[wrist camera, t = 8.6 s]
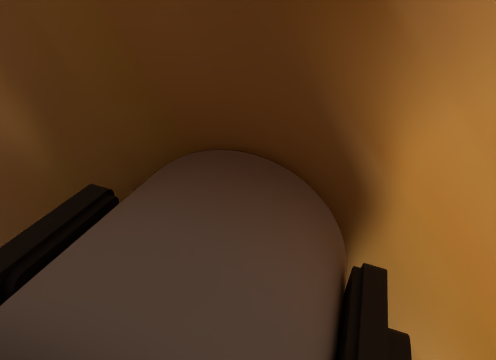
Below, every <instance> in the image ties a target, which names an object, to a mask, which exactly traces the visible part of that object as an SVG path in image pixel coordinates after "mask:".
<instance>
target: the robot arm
mask: <svg viewBox="0 0 496 360" xmlns="http://www.w3.org/2000/svg"><path fill="white" fill-rule="evenodd" d="M118 204H119V199H118V198H117V197H115V196H114V192H113V191H112V190H111V189H107V188H104V187H101V186H97V185H94V184H90V185H88V186H87V187H85V188H84V189H82V190H81V191H80V192H78V193H77V194H75V195H74V196H73V197H71V198H70V199H68V200H67V201H66V202H64V203H63V204H61V205H60V206H58V207H57V208H56V209H54V210H53V211H51V212H50V213H49V214H47V215H46V216H44V217H43V218H42V219H40V220H39V221H37V222H36V223H34V224H33V225H32V226H30V227H29V228H27V229H26V230H25V231H23V232H22V233H20V234H19V235H18V236H16V237H15V238H13V239H12V240H10V241H9V242H8V243H6V244H5V245H3V246H2V247H1V248H0V306H1V305H2V304H3V303H4V302H5V301H7V300H8V299H9V298H10V297H11V296H12V295H14V294H15V293H16V292H17V291H18V290H19V289H21V288H22V287H23V286H24V285H25V284H26V283H27V282H29V281H30V280H31V279H32V278H33V277H34V276H36V275H37V274H38V273H39V272H40V271H41V270H43V269H44V268H45V267H46V266H47V265H48V264H50V263H51V262H52V261H53V260H54V259H55V258H57V257H58V256H59V255H60V254H61V253H62V252H64V251H65V250H66V249H67V248H68V247H69V246H71V245H72V244H73V243H74V242H75V241H76V240H78V239H79V238H80V237H81V236H82V235H83V234H84V233H86V232H87V231H88V230H89V229H90V228H91V227H93V226H94V225H95V224H96V223H97V222H98V221H100V220H101V219H102V218H103V217H104V216H105V215H107V214H108V213H109V212H110V211H111V210H112V209H114V208H115V207H116V206H117V205H118ZM336 360H412V359H411V345H410V337H409V335H408V334H406V333H403V332H400V331H396V330H393V329H390V328H388V299H387V270H386V269H383V268H380V267H376V266H373V265H369V264H366V263H363V265H362V267H361V268H358V267H355V266H353V268H352V271H351V274H350V277H349V280H348V283H347V286H346V289H345V292H344V298H343V306H342V314H341V322H340V330H339V338H338V347H337V355H336Z"/></svg>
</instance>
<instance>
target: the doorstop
mask: <svg viewBox="0 0 496 360" xmlns="http://www.w3.org/2000/svg"><path fill="white" fill-rule="evenodd" d="M346 272H347V257H346V248H345V244H344V240H343V236H342V234H341V231H340V229H339V226H338V224H337V222H336V220H335V218H334V216H333V214H332V213H331V211H330V209H329V208H328V207H327V205H326V204H325V203H324V201H323V200H322V199H321V197H320V196H319V195H318V194H317V193H316V192H315V191H314V190H313V189H312V188H311V187H310V186H309V185H308V184H307V183H306V182H304V181H303V180H302V179H301V178H299V177H298V176H297V175H295V174H294V173H292V172H291V171H289V170H287V169H286V168H284V167H283V166H281V165H279V164H276V163H274V162H272V161H270V160H268V159H265V158H262V157H259V156H256V155H253V154H249V153H244V152H239V151H231V150H208V151H201V152H196V153H191V154H188V155H185V156H182V157H180V158H177V159H175V160H173V161H172V162H170V163H168V164H166V165H165V166H163V167H162V168H161V169H159V170H158V171H157V172H155V173H154V174H153V175H152V176H151V177H150V178H148V179H147V180H146V181H145V182H144V183H143V184H141V185H140V186H139V187H138V188H137V189H136V190H134V191H133V192H132V193H131V194H130V195H129V196H128V197H126V198H125V199H124V200H123V201H122V202H121V203H119V204H118V205H117V206H116V207H115V208H114V209H112V210H111V211H110V212H109V213H108V214H107V215H105V216H104V217H103V218H102V219H101V220H100V221H98V222H97V223H96V224H95V225H94V226H93V227H91V228H90V229H89V230H88V231H87V232H86V233H84V234H83V235H82V236H81V237H80V238H79V239H78V240H76V241H75V242H74V243H73V244H72V245H71V246H69V247H68V248H67V249H66V250H65V251H64V252H62V253H61V254H60V255H59V256H58V257H57V258H55V259H54V260H53V261H52V262H51V263H50V264H48V265H47V266H46V267H45V268H44V269H43V270H41V271H40V272H39V273H38V274H37V275H36V276H34V277H33V278H32V279H31V280H30V281H29V282H27V283H26V284H25V285H24V286H23V287H22V288H21V289H19V290H18V291H17V292H16V293H15V294H14V295H12V296H11V297H10V298H9V299H8V300H7V301H5V302H4V303H3V304H2V305H1V306H0V360H336V355H337V347H338V338H339V330H340V322H341V314H342V306H343V298H344V291H345V282H346Z"/></svg>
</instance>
